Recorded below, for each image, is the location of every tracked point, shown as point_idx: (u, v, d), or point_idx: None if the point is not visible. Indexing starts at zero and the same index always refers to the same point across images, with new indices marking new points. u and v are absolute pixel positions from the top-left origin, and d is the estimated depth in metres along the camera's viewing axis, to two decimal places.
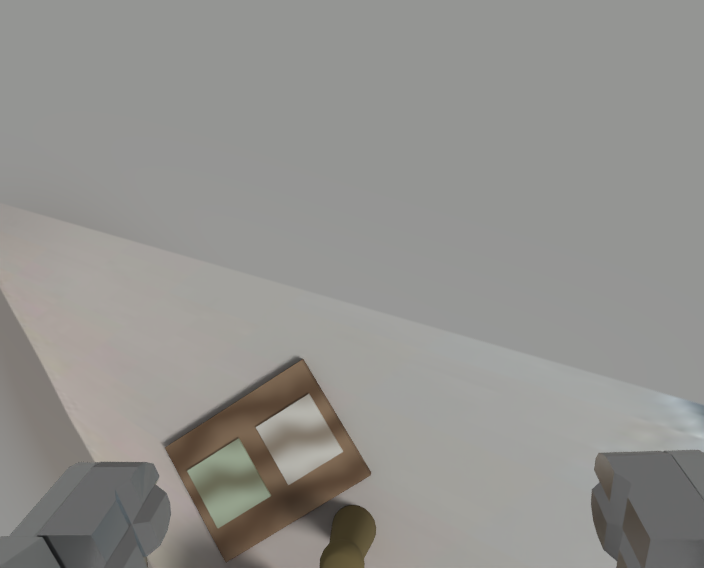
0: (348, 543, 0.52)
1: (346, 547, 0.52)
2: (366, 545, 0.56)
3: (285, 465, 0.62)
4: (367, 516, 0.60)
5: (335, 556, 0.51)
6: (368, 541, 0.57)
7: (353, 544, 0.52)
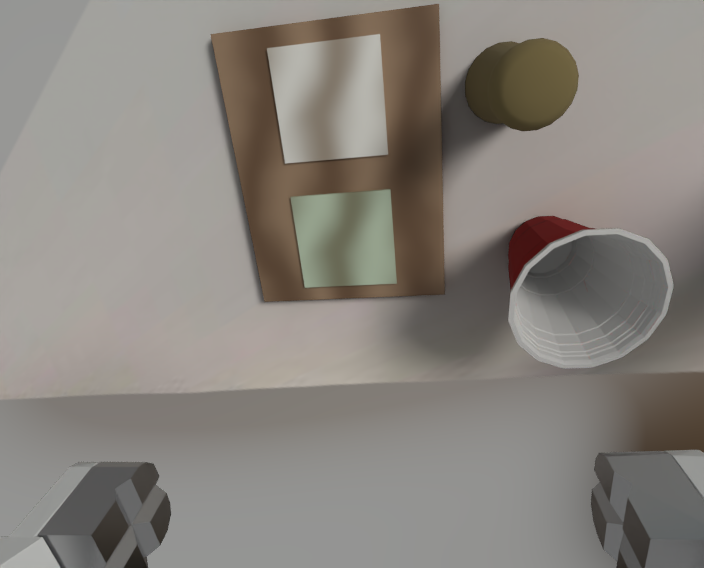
0: (504, 53, 0.27)
1: (507, 55, 0.27)
2: None
3: (358, 144, 0.38)
4: (497, 45, 0.34)
5: (507, 82, 0.26)
6: None
7: None
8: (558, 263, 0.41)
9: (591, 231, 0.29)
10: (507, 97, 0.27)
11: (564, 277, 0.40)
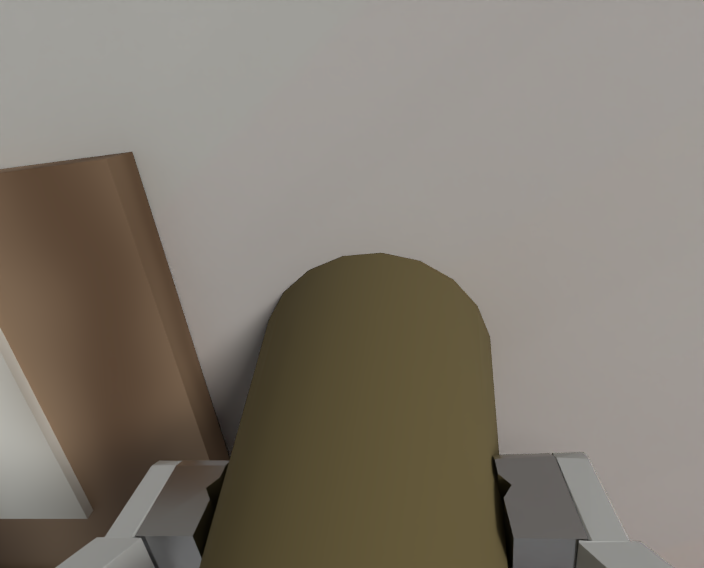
0: None
1: None
2: (407, 426, 0.07)
3: (5, 495, 0.14)
4: (328, 281, 0.10)
5: None
6: (410, 377, 0.07)
7: None
8: None
9: None
10: None
11: None
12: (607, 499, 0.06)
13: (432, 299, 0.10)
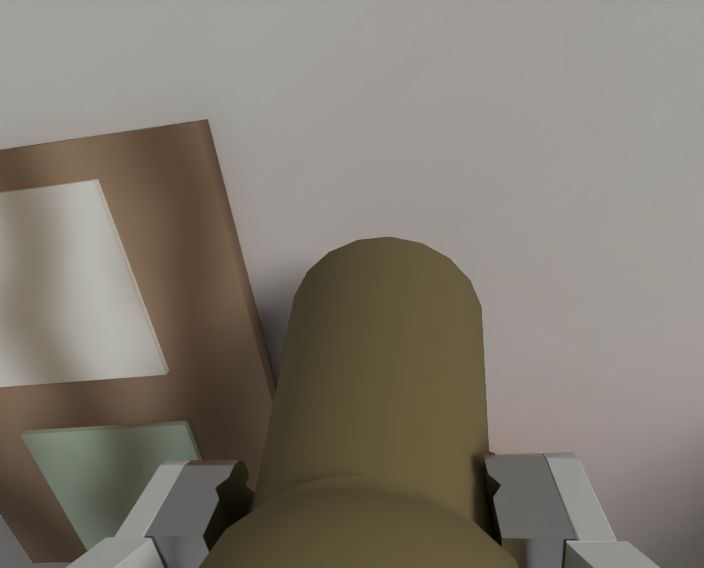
0: None
1: None
2: (413, 359, 0.09)
3: (110, 360, 0.21)
4: (346, 260, 0.12)
5: None
6: (415, 327, 0.10)
7: (239, 543, 0.05)
8: None
9: None
10: None
11: None
12: (596, 499, 0.06)
13: (432, 272, 0.12)
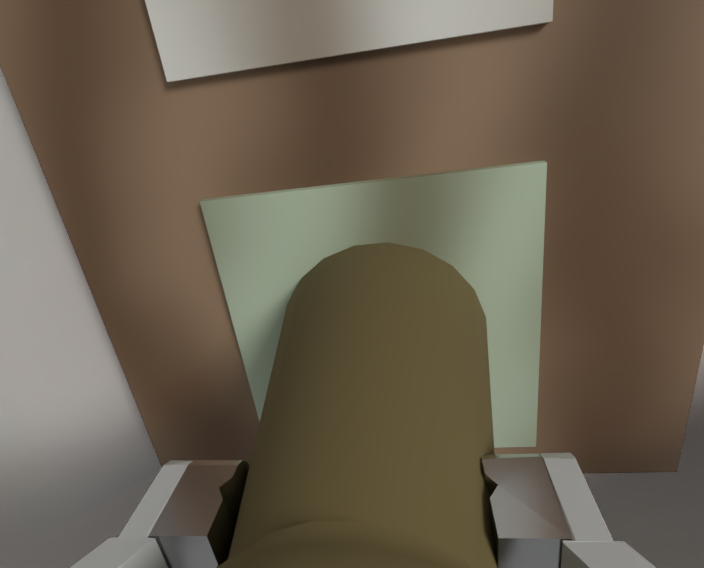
0: None
1: None
2: (413, 380, 0.08)
3: None
4: (342, 267, 0.12)
5: None
6: (415, 343, 0.09)
7: None
8: None
9: None
10: None
11: None
12: (592, 499, 0.06)
13: (434, 281, 0.11)
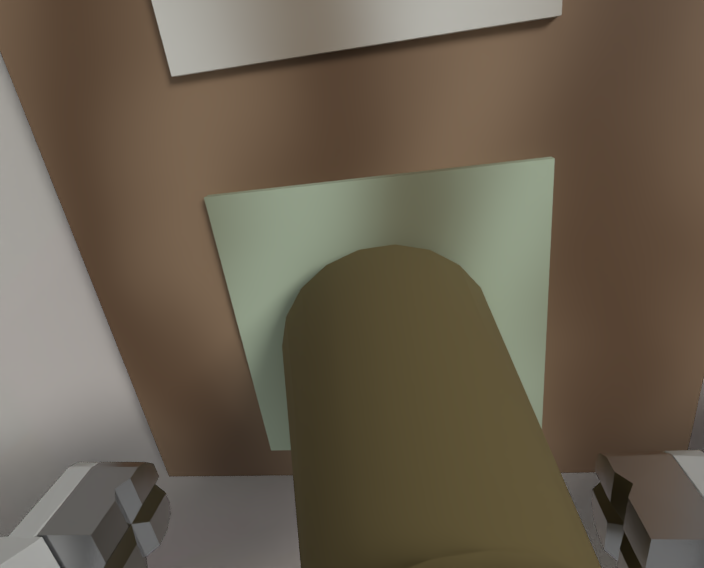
0: None
1: None
2: (474, 386, 0.07)
3: None
4: (353, 273, 0.11)
5: None
6: (461, 347, 0.08)
7: None
8: None
9: None
10: None
11: None
12: None
13: (451, 282, 0.11)
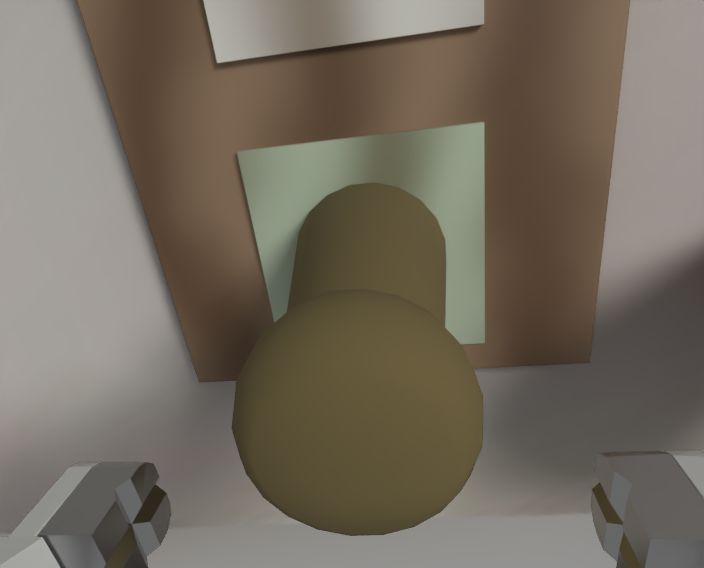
0: (264, 335, 0.09)
1: (255, 363, 0.08)
2: (392, 246, 0.13)
3: None
4: (341, 197, 0.16)
5: (257, 451, 0.08)
6: (393, 231, 0.13)
7: (287, 313, 0.09)
8: None
9: None
10: (267, 485, 0.09)
11: None
12: None
13: (406, 205, 0.16)
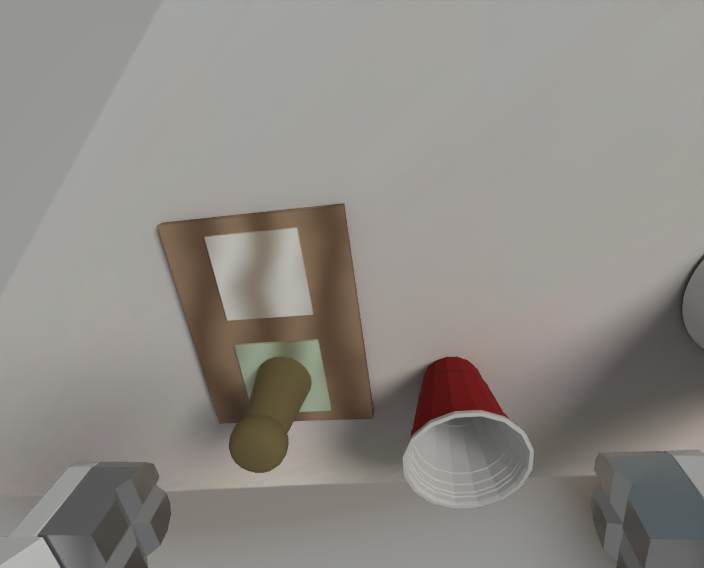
0: (236, 426, 0.40)
1: (233, 434, 0.39)
2: (277, 393, 0.43)
3: (287, 307, 0.45)
4: (270, 364, 0.47)
5: (233, 452, 0.39)
6: (280, 385, 0.44)
7: (241, 421, 0.40)
8: None
9: (460, 414, 0.35)
10: (236, 460, 0.39)
11: None
12: None
13: (291, 368, 0.46)
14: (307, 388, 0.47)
